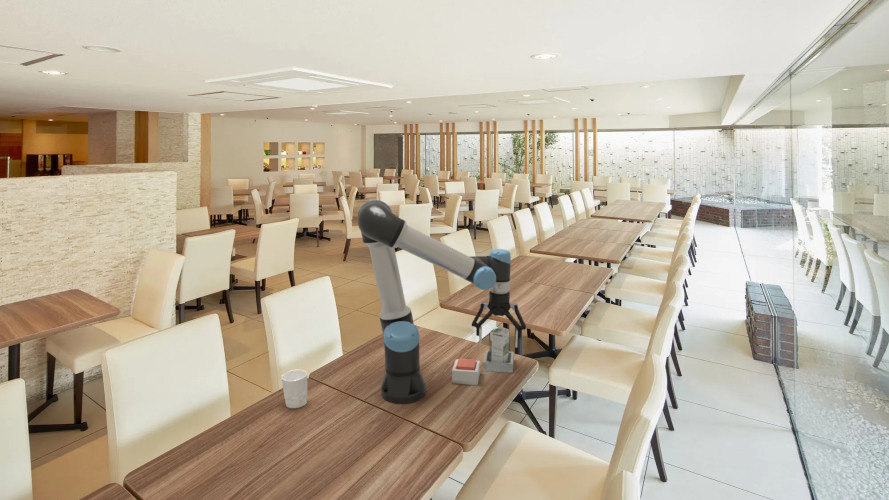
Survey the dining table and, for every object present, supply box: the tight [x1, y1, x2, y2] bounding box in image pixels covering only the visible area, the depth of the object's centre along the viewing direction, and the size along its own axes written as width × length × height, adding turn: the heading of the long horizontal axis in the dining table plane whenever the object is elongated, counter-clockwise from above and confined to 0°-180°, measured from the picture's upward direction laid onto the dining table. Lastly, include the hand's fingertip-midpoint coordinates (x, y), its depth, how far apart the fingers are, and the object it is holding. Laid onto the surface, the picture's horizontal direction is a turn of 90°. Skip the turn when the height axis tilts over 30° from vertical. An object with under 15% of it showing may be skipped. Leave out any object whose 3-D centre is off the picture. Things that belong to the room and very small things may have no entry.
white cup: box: [280, 369, 308, 409], centre depth 149 cm, size 8×8×10 cm
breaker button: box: [456, 358, 477, 371], centre depth 164 cm, size 6×6×5 cm
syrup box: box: [488, 326, 510, 363], centre depth 173 cm, size 6×6×14 cm
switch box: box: [451, 358, 481, 386], centre depth 165 cm, size 9×9×5 cm
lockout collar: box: [482, 349, 515, 374], centre depth 174 cm, size 11×11×4 cm
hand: (498, 345), depth 173 cm, fingers open, 13 cm apart
